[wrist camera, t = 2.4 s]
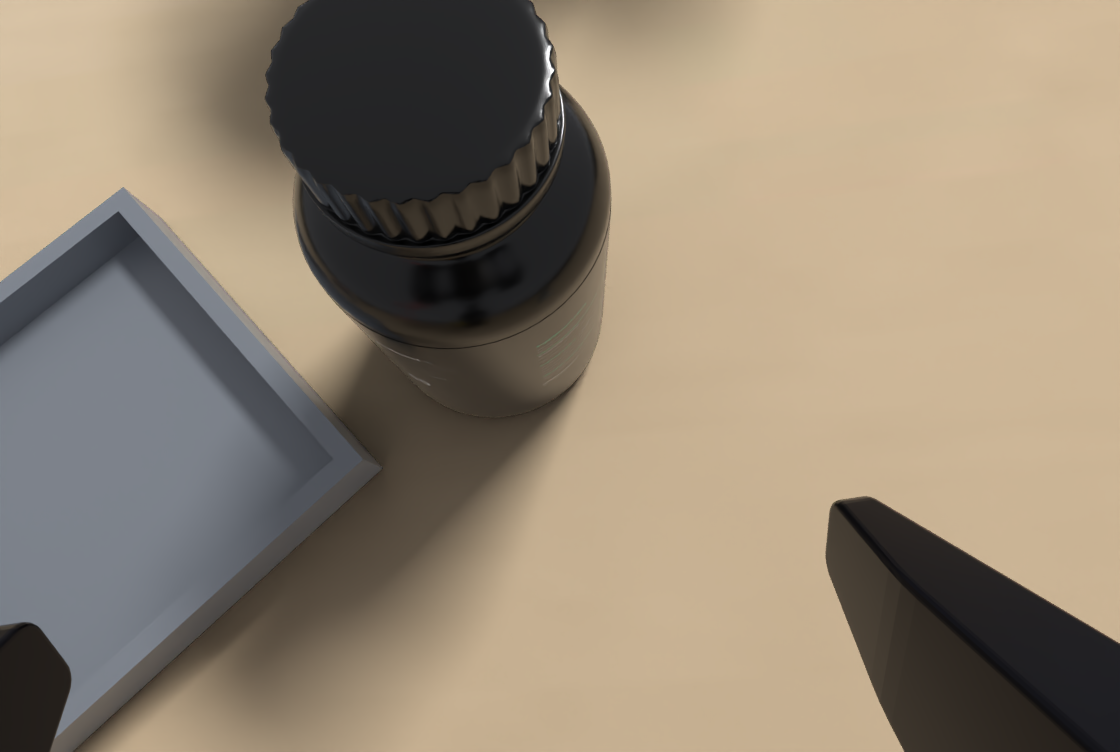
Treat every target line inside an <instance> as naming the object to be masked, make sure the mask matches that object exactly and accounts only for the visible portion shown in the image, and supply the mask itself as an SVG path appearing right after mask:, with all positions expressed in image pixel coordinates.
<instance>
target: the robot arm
mask: <svg viewBox="0 0 1120 752" xmlns="http://www.w3.org/2000/svg"><path fill="white" fill-rule="evenodd" d="M826 564H827V568H828V572H829V575H830V578H831V580H832V583H833V586H834V588H835V591H836V593H837V596H838V598H839V601H840V603H841V606H842V609H843V611H844V614H845V616H846V619H847V621H848V624H849V627H850V629H851V632H852V634H853V637H854V639H855V642H856V644H857V647H858V650H859V652H860V655H861V657H862V660H863V662H864V665H865V668H866V670H867V673H868V675H869V678H870V680H871V683H872V685H873V688H874V690H875V692H876V695H877V697H878V700H879V702H880V704H881V706H882V708H883V710H884V712H885V714H886V717H887V719H888V721H889V723H890V725H891V727H892V729H893V731H894V732H895V734H896V736H897V738H898V740H899V742H900V744H901V746H902V748H903V750H904V752H1120V643H1118V642H1116V641H1115V640H1113V639H1111V638H1110V637H1108V636H1106V635H1105V634H1103V633H1101V632H1100V631H1098V630H1096V629H1095V628H1093V627H1091V626H1089V625H1088V624H1086V623H1084V622H1083V621H1081V620H1079V619H1078V618H1076V617H1074V616H1073V615H1071V614H1069V613H1067V612H1066V611H1064V610H1062V609H1061V608H1059V607H1057V606H1056V605H1054V604H1052V603H1051V602H1049V601H1047V600H1046V599H1044V598H1042V597H1040V596H1039V595H1037V594H1035V593H1034V592H1032V591H1030V590H1029V589H1027V588H1025V587H1024V586H1022V585H1020V584H1018V583H1017V582H1015V581H1013V580H1012V579H1010V578H1008V577H1007V576H1005V575H1003V574H1002V573H1000V572H998V571H996V570H995V569H993V568H991V567H990V566H988V565H986V564H985V563H983V562H981V561H980V560H978V559H976V558H975V557H973V556H971V555H969V554H968V553H966V552H964V551H963V550H961V549H959V548H958V547H956V546H954V545H953V544H951V543H949V542H947V541H946V540H944V539H942V538H941V537H939V536H937V535H936V534H934V533H932V532H931V531H929V530H927V529H926V528H924V527H922V526H920V525H919V524H917V523H915V522H914V521H912V520H910V519H909V518H907V517H905V516H904V515H902V514H900V513H898V512H897V511H895V510H893V509H892V508H890V507H888V506H887V505H885V504H883V503H882V502H880V501H878V500H876V499H874V498H872V497H867V496H863V497H856V498H849V499H843V500H838V501H836V502H834V503H833V504H832V506H831V508H830V513H829V523H828V533H827V544H826ZM71 682H72V678H71V671H70V668H69V666H68V664H67V663H66V662H65V660H64V659H63V658H62V656H61V655H60V654H59V652H58V651H57V650H56V648H55V647H54V646H53V644H52V643H51V642H50V640H49V639H48V638H47V636H46V635H45V634H44V632H43V631H42V630H41V629H40V628H39V627H38V626H37V625H35V624H33V623H31V622H20V623H14V624H7V625H0V752H50V751H51V748H52V745H53V742H54V739H55V736H56V733H57V730H58V726H59V723H60V720H61V717H62V714H63V711H64V708H65V705H66V702H67V699H68V696H69V693H70V689H71Z"/></svg>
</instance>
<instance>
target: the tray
mask: <svg viewBox="0 0 1120 752" xmlns="http://www.w3.org/2000/svg"><path fill="white" fill-rule="evenodd" d="M381 469H383V468H382V467H381V465H380V464H379V463H378V462H377V461H376V460H375V459H374V458H373V456H372V455H371V454H370V453H369V452H368V451H367V450H366V448H365V447H364V446H363V445H362V444H361V443H360V442H359V441H358V439H357V438H356V437H355V436H354V435H353V434H352V433H351V432H350V430H349V429H348V428H347V427H346V426H345V425H344V424H343V423H342V421H341V420H340V419H339V418H338V417H337V416H336V415H335V414H334V412H333V411H332V410H331V409H330V408H329V407H328V406H327V404H326V403H325V402H324V401H323V400H322V399H321V398H320V397H319V395H318V394H317V393H316V392H315V391H314V390H313V389H312V388H311V386H310V385H309V384H308V383H307V382H306V381H305V380H304V379H303V377H302V376H301V375H300V374H299V373H298V372H297V371H296V370H295V368H294V367H293V366H292V365H291V364H290V363H289V362H288V360H287V359H286V358H285V357H284V356H283V355H282V354H281V353H280V351H279V350H278V349H277V348H276V347H275V346H274V345H273V344H272V342H271V341H270V340H269V339H268V338H267V337H266V336H265V335H264V333H263V332H262V331H261V330H260V329H259V328H258V327H257V326H256V324H255V323H254V322H253V321H252V320H251V319H250V318H249V316H248V315H247V314H246V313H245V312H244V311H243V310H242V309H241V307H240V306H239V305H238V304H237V303H236V302H235V301H234V300H233V298H232V297H231V296H230V295H229V294H228V293H227V292H226V291H225V289H224V288H223V287H222V286H221V285H220V284H219V283H218V282H217V280H216V279H215V278H214V277H213V276H212V275H211V274H210V272H209V271H208V270H207V269H206V268H205V267H204V266H203V265H202V263H201V262H200V261H199V260H198V259H197V258H196V257H195V256H194V254H193V253H192V252H191V251H190V250H189V249H188V248H187V247H186V245H185V244H184V243H183V242H182V241H181V240H180V239H179V238H178V236H177V235H176V234H175V233H174V232H173V231H172V230H171V228H170V227H169V226H168V225H167V224H166V223H165V222H164V221H163V219H162V218H161V217H160V216H158V215H157V214H156V213H155V212H154V211H152V210H151V209H150V208H149V207H147V206H146V205H145V204H144V203H142V202H141V201H140V200H139V199H137V198H136V197H135V196H134V195H132V194H131V193H130V192H129V191H127V190H126V189H125V188H124V187H123V188H121V189H120V190H119V191H118V192H116V193H115V194H114V195H112V196H111V197H110V198H108V199H107V200H106V201H105V202H103V203H102V204H101V205H99V206H98V207H97V208H96V209H94V210H93V211H92V212H90V213H89V214H88V215H86V216H85V217H84V218H83V219H81V220H80V221H79V222H77V223H76V224H75V225H73V226H72V227H71V228H70V229H68V230H67V231H66V232H64V233H63V234H62V235H61V236H59V237H58V238H57V239H55V240H54V241H53V242H51V243H50V244H49V245H48V246H46V247H45V248H44V249H42V250H41V251H40V252H39V253H37V254H36V255H35V256H33V257H32V258H31V259H29V260H28V261H27V262H26V263H24V264H23V265H22V266H20V267H19V268H18V269H17V270H15V271H14V272H13V273H11V274H10V275H9V276H7V277H6V278H5V279H4V280H2V281H1V282H0V625H7V624H14V623H20V622H31V623H33V624H35V625H37V626H38V627H39V628H40V629H41V630H42V631H43V632H44V634H45V635H46V636H47V638H48V639H49V640H50V642H51V643H52V644H53V646H54V647H55V648H56V650H57V651H58V652H59V654H60V655H61V656H62V658H63V659H64V660H65V662H66V663H67V664H68V666H69V668H70V671H71V678H72V682H71V689H70V693H69V696H68V699H67V702H66V705H65V708H64V711H63V714H62V717H61V720H60V723H59V726H58V730H57V733H56V736H55V739H54V742H53V745H52V748H51V751H50V752H73V751H74V750H75V749H76V748H77V747H78V746H79V745H80V744H82V743H83V742H84V741H85V740H86V739H87V738H88V737H89V736H90V735H91V734H93V733H94V732H95V731H96V730H97V729H98V728H99V727H100V726H101V725H102V724H103V723H105V722H106V721H107V720H108V719H109V718H110V717H111V716H112V715H113V714H114V713H116V712H117V711H118V710H119V709H120V708H121V707H122V706H123V705H124V704H125V703H126V702H128V701H129V700H130V699H131V698H132V697H133V696H134V695H135V694H136V693H137V692H138V691H140V690H141V689H142V688H143V687H144V686H145V685H146V684H147V683H148V682H149V681H151V680H152V679H153V678H154V677H155V676H156V675H157V674H158V673H159V672H160V671H161V670H163V669H164V668H165V667H166V666H167V665H168V664H169V663H170V662H171V661H172V660H174V659H175V658H176V657H177V656H178V655H179V654H180V653H181V652H182V651H183V650H184V649H186V648H187V647H188V646H189V645H190V644H191V643H192V642H193V641H194V640H195V639H196V638H198V637H199V636H200V635H201V634H202V633H203V632H204V631H205V630H206V629H207V628H209V627H210V626H211V625H212V624H213V623H214V622H215V621H216V620H217V619H218V618H219V617H221V616H222V615H223V614H224V613H225V612H226V611H227V610H228V609H229V608H230V607H232V606H233V605H234V604H235V603H236V602H237V601H238V600H239V599H240V598H241V597H242V596H244V595H245V594H246V593H247V592H248V591H249V590H250V589H251V588H252V587H253V586H254V585H256V584H257V583H258V582H259V581H260V580H261V579H262V578H263V577H264V576H265V575H267V574H268V573H269V572H270V571H271V570H272V569H273V568H274V567H275V566H276V565H277V564H279V563H280V562H281V561H282V560H283V559H284V558H285V557H286V556H287V555H288V554H290V553H291V552H292V551H293V550H294V549H295V548H296V547H297V546H298V545H299V544H300V543H302V542H303V541H304V540H305V539H306V538H307V537H308V536H309V535H310V534H311V533H313V532H314V531H315V530H316V529H317V528H318V527H319V526H320V525H321V524H322V523H323V522H325V521H326V520H327V519H328V518H329V517H330V516H331V515H332V514H333V513H334V512H335V511H337V510H338V509H339V508H340V507H341V506H342V505H343V504H344V503H345V502H346V501H348V500H349V499H350V498H351V497H352V496H353V495H354V494H355V493H356V492H357V491H358V490H360V489H361V488H362V487H363V486H364V485H365V484H366V483H367V482H368V481H369V480H371V479H372V478H373V477H374V476H375V475H376V474H377V473H378V472H379V471H380V470H381Z"/></svg>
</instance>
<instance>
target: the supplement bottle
mask: <svg viewBox="0 0 1120 752" xmlns="http://www.w3.org/2000/svg"><path fill="white" fill-rule="evenodd" d="M271 59H272V63H271V65H270V67H269V68H268V70H267V72H266V74H265V76H266V80H267V83H268V85H269V86H268V89H267V92H266V96H265V102H266V104H267V106H268V108H269V110H270V112H271V115H270V125H271V128H272V130H273V132H274V133H275V135H276V136H277V138H278V139H279V141H280V146H281V150H282V152H283V154H284V155H285V157H286V158H287V160H288V161H289V162H290V164H291V165H292V166H293V168H294V169H295V170H296V174H295V180H294V189H293V216H294V223H295V229H296V233H297V237H298V241H299V244H300V247H301V250H302V252H303V255H304V257H305V260H306V262H307V264H308V265H309V267H310V269H311V271H312V273H313V274H314V276H315V277H316V279H317V280H318V282H319V283H320V285H321V286H322V287H323V289H324V290H325V291H326V292H327V294H328V295H329V296H330V297H331V298H332V300H333V301H334V302H335V303H336V304H337V305H338V306H339V307H340V308H341V309H342V311H343V312H344V313H345V314H346V315H347V316H348V317H349V318H350V319H351V320H352V321H353V322H354V323H355V324H356V325H357V326H358V327H359V328H360V329H361V330H362V331H363V332H364V333H365V334H366V335H367V336H368V337H369V338H370V339H371V340H372V341H373V342H374V343H375V344H376V345H377V346H378V347H379V348H380V350H381V351H382V352H383V353H384V354H385V355H386V356H387V357H388V358H389V359H390V360H391V361H392V362H393V363H394V364H395V365H396V366H397V367H398V368H399V369H400V370H401V371H402V372H403V373H404V374H405V375H406V376H407V377H408V378H409V379H410V380H411V381H412V382H413V383H414V384H415V385H416V386H417V387H419V388H420V389H421V390H422V391H423V392H424V393H425V394H427V395H428V396H429V397H431V398H432V399H433V400H435V401H437V402H438V403H440V404H442V405H444V406H446V407H448V408H450V409H452V410H455V411H458V412H460V413H464V414H468V415H472V416H478V417H491V418H495V417H508V416H514V415H519V414H523V413H526V412H529V411H532V410H535V409H537V408H539V407H541V406H543V405H545V404H547V403H549V402H550V401H552V400H554V399H555V398H557V397H558V396H559V395H561V394H562V393H563V392H564V391H566V390H567V389H568V388H569V387H570V386H571V385H572V384H573V383H574V382H575V381H576V380H577V379H578V377H579V376H580V375H581V373H582V372H583V371H584V369H585V367H586V366H587V364H588V363H589V361H590V359H591V357H592V355H593V352H594V350H595V347H596V344H597V342H598V338H599V334H600V329H601V322H602V315H603V304H604V292H605V279H606V266H607V254H608V241H609V229H610V215H611V184H610V172H609V167H608V161H607V158H606V154H605V151H604V147H603V145H602V142H601V140H600V138H599V135H598V133H597V131H596V129H595V127H594V125H593V123H592V122H591V120H590V118H589V117H588V116H587V114H586V113H585V111H584V110H583V108H582V107H581V106H580V105H579V103H578V102H577V101H576V100H575V99H574V98H573V97H572V95H571V94H570V93H568V92H567V91H566V90H565V89H564V88H563V87H562V86H561V85H560V84H559V79H558V74H557V61H556V52H555V49H554V46H553V45H552V43H551V42H550V40H549V36H548V29H547V26H546V23H545V22H544V21H543V20H542V19H541V18H539V17H538V16H537V15H536V11H535V7H534V5H533V3H532V2H531V1H529V0H308V1H307V2H305V3H303V4H302V5H300V6H299V7H298V8H297V10H296V12H295V15H294V17H293V19H292V20H291V21H289V22H288V23H287V24H286V25H285V26H283V27H282V31H281V36H280V40H279V41H278V42H277V44H276V45H275V46H274V47H273V49H272V50H271Z"/></svg>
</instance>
